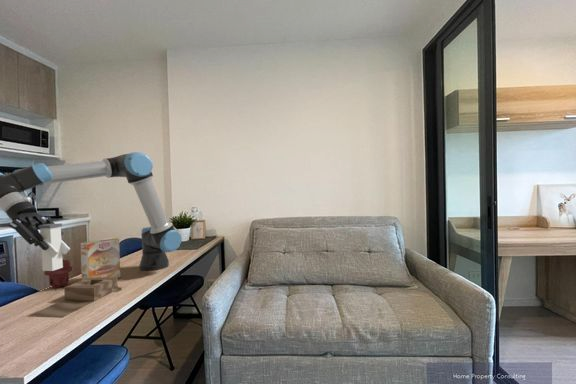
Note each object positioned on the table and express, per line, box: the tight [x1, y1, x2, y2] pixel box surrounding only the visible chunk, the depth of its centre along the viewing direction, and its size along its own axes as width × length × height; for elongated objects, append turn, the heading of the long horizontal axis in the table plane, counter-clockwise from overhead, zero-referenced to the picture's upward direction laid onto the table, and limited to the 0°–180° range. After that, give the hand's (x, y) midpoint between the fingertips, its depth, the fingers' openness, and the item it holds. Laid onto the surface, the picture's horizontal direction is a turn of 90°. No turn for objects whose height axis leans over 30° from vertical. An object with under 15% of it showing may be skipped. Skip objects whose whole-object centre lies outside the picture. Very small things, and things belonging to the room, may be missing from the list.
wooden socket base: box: [26, 277, 123, 319], centre depth 114 cm, size 29×14×6 cm, turn 173°
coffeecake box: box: [80, 237, 121, 281], centre depth 143 cm, size 15×7×20 cm, turn 150°
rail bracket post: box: [38, 223, 63, 272], centre depth 103 cm, size 5×5×16 cm
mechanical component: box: [44, 258, 73, 290], centre depth 134 cm, size 12×10×10 cm
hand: (61, 253), depth 103 cm, fingers closed on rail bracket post, 4 cm apart
